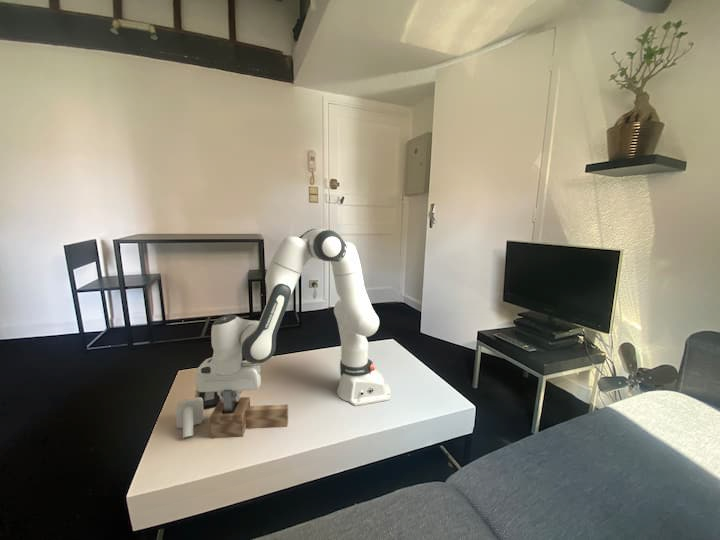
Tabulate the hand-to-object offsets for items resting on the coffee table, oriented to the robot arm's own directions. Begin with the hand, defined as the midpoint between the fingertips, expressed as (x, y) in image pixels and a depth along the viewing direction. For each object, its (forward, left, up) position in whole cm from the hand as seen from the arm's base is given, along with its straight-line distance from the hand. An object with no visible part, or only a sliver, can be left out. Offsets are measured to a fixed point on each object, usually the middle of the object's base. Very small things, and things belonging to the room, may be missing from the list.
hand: (230, 400), depth 102 cm
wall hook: (+14, 0, -10) cm, 17 cm away
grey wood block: (0, 0, -5) cm, 5 cm away
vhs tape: (+14, -18, -11) cm, 25 cm away
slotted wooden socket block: (-7, 0, -10) cm, 12 cm away
